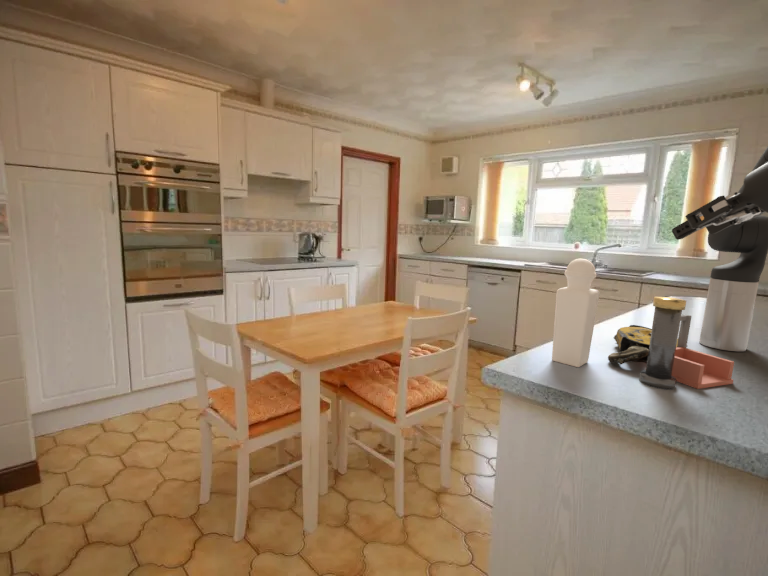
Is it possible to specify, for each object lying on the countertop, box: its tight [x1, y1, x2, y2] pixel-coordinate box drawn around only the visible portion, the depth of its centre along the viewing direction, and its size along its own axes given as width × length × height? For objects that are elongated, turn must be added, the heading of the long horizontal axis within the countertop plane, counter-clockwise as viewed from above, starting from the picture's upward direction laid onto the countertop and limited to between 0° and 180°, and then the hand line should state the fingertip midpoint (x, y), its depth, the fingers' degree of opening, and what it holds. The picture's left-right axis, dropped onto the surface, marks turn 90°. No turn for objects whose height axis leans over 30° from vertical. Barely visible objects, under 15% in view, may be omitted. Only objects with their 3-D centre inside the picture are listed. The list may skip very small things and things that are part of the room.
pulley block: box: [607, 324, 678, 366], centre depth 91 cm, size 14×6×30 cm
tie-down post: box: [638, 296, 687, 390], centre depth 73 cm, size 6×6×16 cm
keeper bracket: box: [672, 314, 735, 390], centre depth 79 cm, size 11×11×11 cm
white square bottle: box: [551, 257, 600, 368], centre depth 83 cm, size 6×6×22 cm
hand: (692, 232), depth 71 cm, fingers open, 8 cm apart
